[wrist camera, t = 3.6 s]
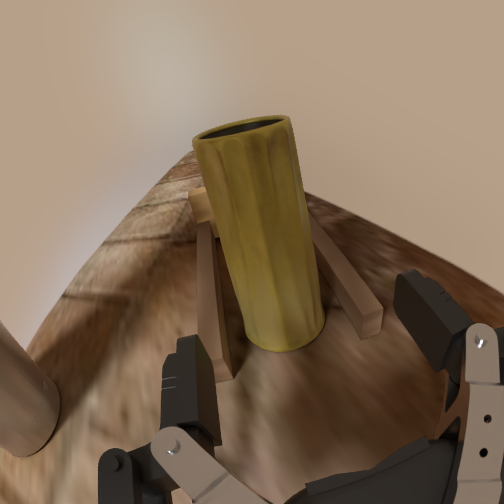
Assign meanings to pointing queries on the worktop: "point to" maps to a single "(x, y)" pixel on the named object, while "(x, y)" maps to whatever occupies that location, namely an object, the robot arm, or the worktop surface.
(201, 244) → the track
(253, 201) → the vase
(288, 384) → the worktop surface
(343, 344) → the worktop surface
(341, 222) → the worktop surface
